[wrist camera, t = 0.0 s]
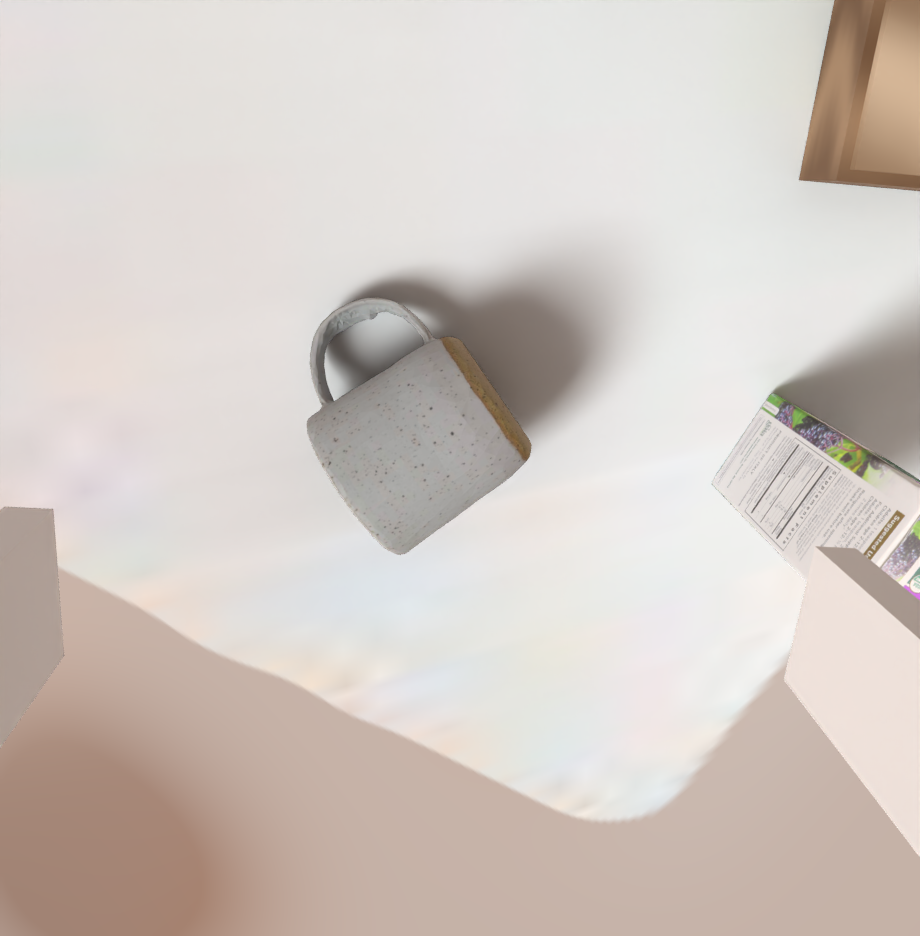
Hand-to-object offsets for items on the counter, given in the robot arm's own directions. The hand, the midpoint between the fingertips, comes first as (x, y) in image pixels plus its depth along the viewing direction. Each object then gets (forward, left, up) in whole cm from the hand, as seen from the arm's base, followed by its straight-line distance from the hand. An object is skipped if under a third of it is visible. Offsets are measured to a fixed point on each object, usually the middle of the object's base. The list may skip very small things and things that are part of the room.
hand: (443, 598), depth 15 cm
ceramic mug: (+4, 0, -28) cm, 29 cm away
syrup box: (+6, +20, -28) cm, 35 cm away
